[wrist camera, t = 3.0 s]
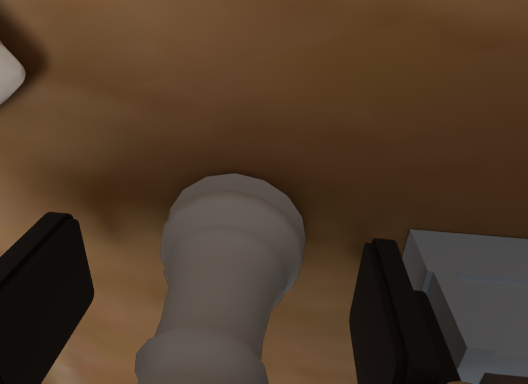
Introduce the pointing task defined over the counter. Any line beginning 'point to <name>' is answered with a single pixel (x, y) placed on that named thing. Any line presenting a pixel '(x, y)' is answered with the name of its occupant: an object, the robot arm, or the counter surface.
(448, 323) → the blue-grey divided tray
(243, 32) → the counter surface
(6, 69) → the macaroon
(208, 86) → the counter surface
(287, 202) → the rook chess piece
